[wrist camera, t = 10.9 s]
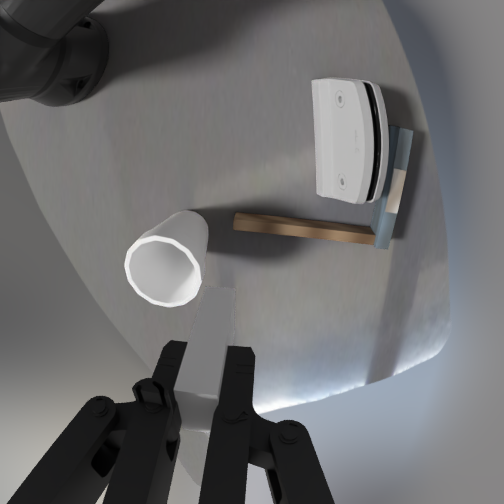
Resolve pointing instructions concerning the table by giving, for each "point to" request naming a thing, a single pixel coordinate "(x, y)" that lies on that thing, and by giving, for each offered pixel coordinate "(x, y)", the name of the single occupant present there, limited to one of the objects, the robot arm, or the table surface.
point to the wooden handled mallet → (371, 235)
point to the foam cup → (169, 260)
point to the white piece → (350, 139)
